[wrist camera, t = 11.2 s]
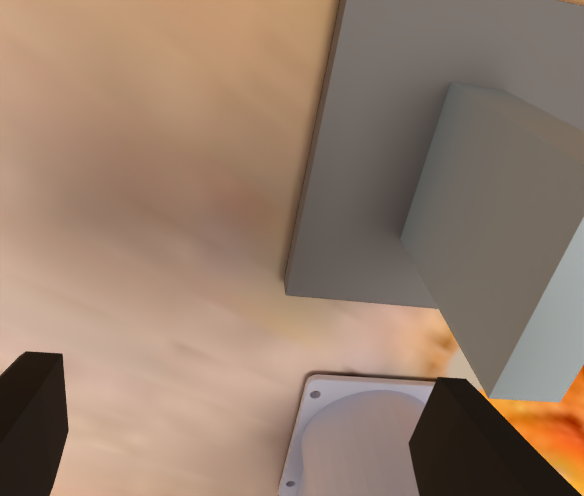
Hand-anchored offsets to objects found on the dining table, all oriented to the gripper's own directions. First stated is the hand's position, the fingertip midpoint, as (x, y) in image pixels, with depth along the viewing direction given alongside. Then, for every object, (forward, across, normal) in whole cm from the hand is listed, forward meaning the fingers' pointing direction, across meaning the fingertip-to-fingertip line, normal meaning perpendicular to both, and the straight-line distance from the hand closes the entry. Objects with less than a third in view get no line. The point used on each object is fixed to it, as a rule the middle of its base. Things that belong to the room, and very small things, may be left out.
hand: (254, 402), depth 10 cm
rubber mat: (+10, -7, -2) cm, 13 cm away
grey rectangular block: (+9, -7, -2) cm, 12 cm away
